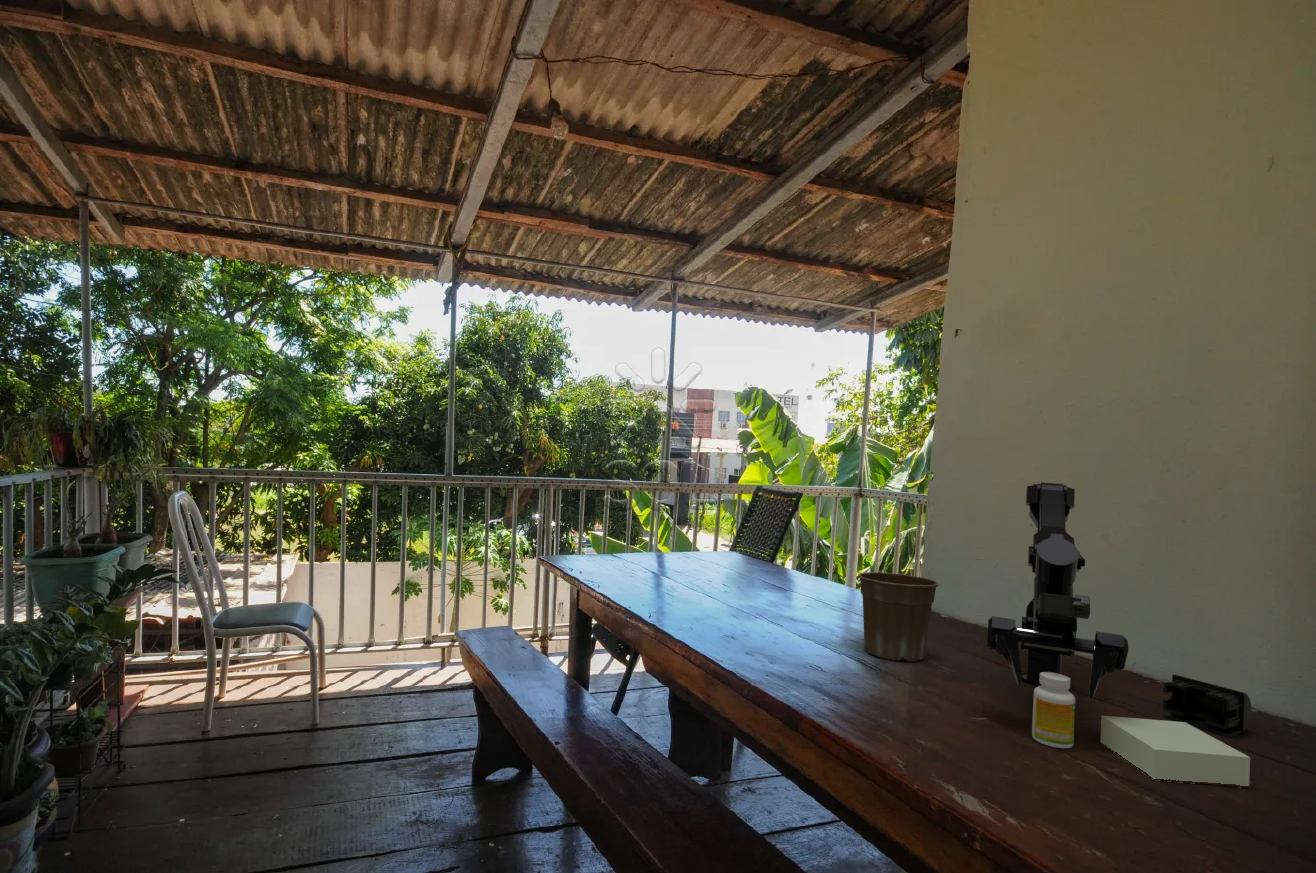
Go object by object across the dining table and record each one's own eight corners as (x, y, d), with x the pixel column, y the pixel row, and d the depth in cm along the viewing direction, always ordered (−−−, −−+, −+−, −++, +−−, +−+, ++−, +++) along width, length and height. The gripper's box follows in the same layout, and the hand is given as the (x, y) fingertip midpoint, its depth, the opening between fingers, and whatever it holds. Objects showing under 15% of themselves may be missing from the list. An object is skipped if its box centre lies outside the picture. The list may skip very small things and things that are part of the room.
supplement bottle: (1079, 751, 98) (1082, 683, 98) (1039, 746, 99) (1041, 679, 99) (1065, 737, 103) (1067, 672, 104) (1026, 732, 104) (1029, 668, 105)
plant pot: (868, 639, 156) (872, 568, 157) (943, 654, 147) (946, 579, 147) (843, 653, 143) (847, 576, 143) (923, 671, 133) (927, 588, 134)
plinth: (1100, 742, 102) (1101, 715, 102) (1184, 749, 101) (1184, 722, 101) (1153, 779, 90) (1154, 749, 90) (1249, 788, 89) (1250, 757, 89)
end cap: (1251, 733, 110) (1252, 690, 110) (1232, 739, 107) (1233, 696, 107) (1179, 711, 119) (1180, 672, 119) (1159, 716, 115) (1160, 676, 115)
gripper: (990, 566, 111) (985, 648, 101) (1128, 581, 102) (1138, 674, 92) (989, 606, 117) (985, 688, 107) (1119, 624, 109) (1127, 715, 99)
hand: (1054, 690), depth 101 cm, fingers open, 9 cm apart
